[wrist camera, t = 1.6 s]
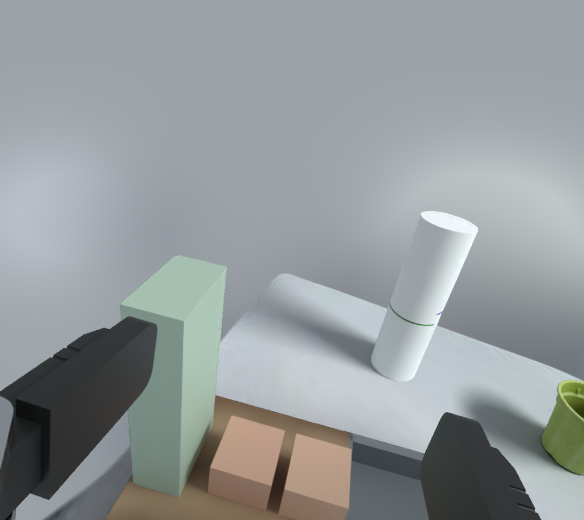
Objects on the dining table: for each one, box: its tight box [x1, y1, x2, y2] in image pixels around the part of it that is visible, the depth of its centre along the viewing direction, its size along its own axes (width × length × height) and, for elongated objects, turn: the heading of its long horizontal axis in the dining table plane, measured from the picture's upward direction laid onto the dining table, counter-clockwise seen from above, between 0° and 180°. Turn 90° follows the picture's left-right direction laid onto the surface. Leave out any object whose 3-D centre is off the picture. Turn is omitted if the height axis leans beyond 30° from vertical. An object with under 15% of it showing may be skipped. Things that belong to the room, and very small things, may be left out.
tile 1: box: [278, 434, 352, 520], centre depth 30 cm, size 5×5×4 cm
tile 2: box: [208, 416, 285, 511], centre depth 31 cm, size 5×5×4 cm
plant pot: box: [541, 380, 584, 475], centre depth 46 cm, size 9×9×9 cm
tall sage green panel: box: [120, 255, 227, 498], centre depth 28 cm, size 7×4×18 cm, turn 169°
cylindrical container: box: [371, 211, 478, 382], centre depth 52 cm, size 7×7×25 cm
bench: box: [105, 395, 350, 520], centre depth 33 cm, size 14×18×7 cm
